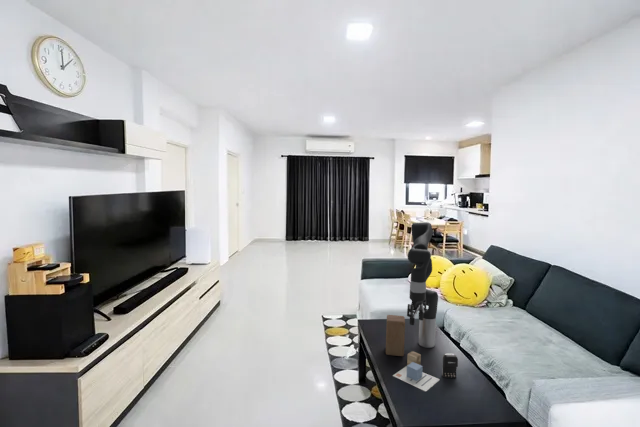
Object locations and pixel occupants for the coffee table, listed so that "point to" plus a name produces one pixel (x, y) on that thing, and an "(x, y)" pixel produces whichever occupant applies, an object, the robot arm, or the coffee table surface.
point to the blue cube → (414, 371)
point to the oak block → (413, 358)
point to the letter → (422, 383)
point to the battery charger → (449, 365)
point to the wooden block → (395, 335)
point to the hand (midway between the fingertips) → (416, 322)
